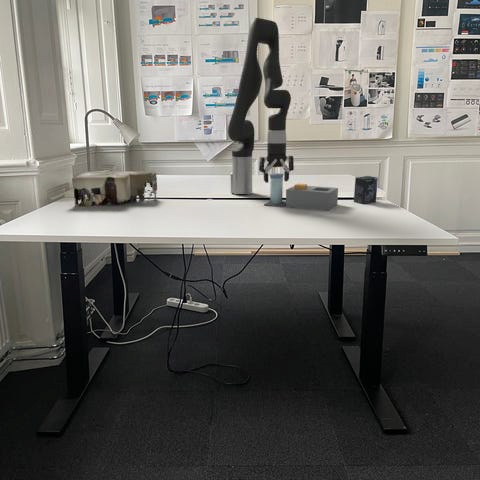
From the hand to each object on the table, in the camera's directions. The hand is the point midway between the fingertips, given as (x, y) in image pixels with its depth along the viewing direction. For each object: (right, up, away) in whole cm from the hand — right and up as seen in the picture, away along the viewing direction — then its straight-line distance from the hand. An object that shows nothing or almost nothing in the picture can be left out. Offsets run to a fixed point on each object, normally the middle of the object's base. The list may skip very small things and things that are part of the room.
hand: (276, 181), depth 200 cm
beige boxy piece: (-67, -8, +10) cm, 69 cm away
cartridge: (0, -9, +2) cm, 9 cm away
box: (+38, -8, +6) cm, 39 cm away
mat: (0, -9, +3) cm, 10 cm away
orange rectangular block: (+10, -6, +1) cm, 12 cm away
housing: (+14, -10, 0) cm, 18 cm away
